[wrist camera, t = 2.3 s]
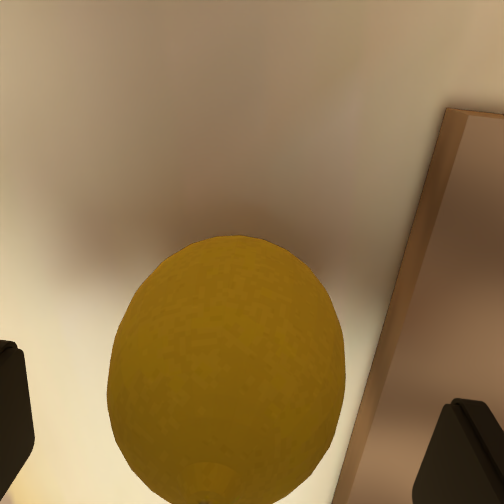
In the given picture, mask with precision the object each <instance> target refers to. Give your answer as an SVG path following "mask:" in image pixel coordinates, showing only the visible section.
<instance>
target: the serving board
mask: <svg viewBox="0 0 504 504" xmlns="http://www.w3.org/2000/svg"><path fill="white" fill-rule="evenodd" d="M454 398H462V399H470V400H478V401H483V402H485V403H486V404H487V406H488V407H489V409H490V410H491V412H492V413H493V415H494V417H495V418H496V420H497V422H498V423H499V425H500V426H501V428H502V430H503V431H504V115H502V114H494V113H485V112H477V111H469V110H460V109H452V108H446V112H445V115H444V119H443V122H442V126H441V129H440V133H439V136H438V139H437V143H436V146H435V150H434V153H433V157H432V160H431V164H430V167H429V170H428V174H427V177H426V181H425V184H424V188H423V191H422V195H421V198H420V201H419V205H418V208H417V212H416V215H415V219H414V222H413V226H412V229H411V232H410V236H409V239H408V243H407V246H406V250H405V253H404V257H403V260H402V263H401V267H400V270H399V274H398V277H397V281H396V284H395V288H394V291H393V294H392V298H391V301H390V305H389V308H388V312H387V315H386V319H385V322H384V325H383V329H382V332H381V336H380V339H379V343H378V346H377V350H376V353H375V356H374V360H373V363H372V367H371V370H370V374H369V377H368V381H367V384H366V387H365V391H364V394H363V398H362V401H361V405H360V408H359V412H358V415H357V418H356V422H355V425H354V429H353V432H352V436H351V439H350V443H349V446H348V449H347V453H346V456H345V460H344V463H343V467H342V470H341V474H340V477H339V480H338V484H337V487H336V491H335V494H334V498H333V501H332V504H413V502H412V488H413V484H414V482H415V479H416V476H417V474H418V471H419V469H420V466H421V463H422V461H423V458H424V455H425V453H426V450H427V447H428V445H429V442H430V440H431V437H432V434H433V432H434V429H435V426H436V424H437V421H438V418H439V416H440V413H441V411H442V408H443V406H444V405H445V404H450V403H451V402H452V400H453V399H454Z"/></svg>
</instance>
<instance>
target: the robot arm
mask: <svg viewBox="0 0 504 504" xmlns="http://www.w3.org/2000/svg"><path fill="white" fill-rule="evenodd" d="M34 441H35V435H34V427H33V420H32V412H31V404H30V397H29V389H28V381H27V374H26V366H25V358H24V353H23V351H22V350H21V349H18V348H17V345H16V343H15V342H12V341H6V340H0V501H1V499H2V498H3V496H4V495H5V493H6V492H7V490H8V488H9V487H10V485H11V484H12V482H13V481H14V479H15V478H16V476H17V474H18V473H19V471H20V470H21V468H22V467H23V465H24V464H25V462H26V460H27V459H28V457H29V456H30V454H31V452H32V449H33V446H34ZM412 502H413V504H504V431H503V430H502V428H501V426H500V425H499V423H498V422H497V420H496V418H495V417H494V415H493V413H492V412H491V410H490V409H489V407H488V406H487V404H486V403H485V402H483V401H478V400H470V399H462V398H454V399H453V400H452V402H451V403H450V404H445V405H444V406H443V408H442V411H441V413H440V416H439V418H438V421H437V424H436V426H435V429H434V432H433V434H432V437H431V440H430V442H429V445H428V447H427V450H426V453H425V455H424V458H423V461H422V463H421V466H420V469H419V471H418V474H417V476H416V479H415V482H414V484H413V488H412Z"/></svg>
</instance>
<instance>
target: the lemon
mask: <svg viewBox="0 0 504 504" xmlns="http://www.w3.org/2000/svg"><path fill="white" fill-rule="evenodd" d="M345 379H346V373H345V354H344V341H343V334H342V330H341V326H340V323H339V320H338V318H337V315H336V312H335V310H334V307H333V304H332V302H331V299H330V297H329V295H328V293H327V291H326V290H325V288H324V287H323V285H322V284H321V283H320V281H319V280H318V279H317V278H316V276H315V275H314V274H313V272H312V271H311V270H310V268H309V267H308V266H307V265H306V264H304V263H303V262H302V261H301V260H299V259H298V258H297V257H295V256H294V255H293V254H292V253H290V252H289V251H288V250H286V249H284V248H282V247H279V246H277V245H275V244H273V243H270V242H268V241H266V240H264V239H258V238H253V237H248V236H242V235H235V236H217V237H213V238H209V239H206V240H203V241H199V242H196V243H192V244H190V245H189V246H187V247H185V248H184V249H182V250H180V251H179V252H177V253H175V254H174V255H172V256H170V257H169V258H167V259H166V260H164V261H163V262H162V263H161V264H160V265H159V266H158V267H157V268H156V269H155V270H154V272H153V273H152V274H151V275H150V276H149V277H148V278H147V279H146V280H145V281H144V282H143V284H142V285H141V286H140V287H139V288H138V290H137V291H136V293H135V294H134V296H133V298H132V300H131V302H130V305H129V307H128V309H127V311H126V313H125V315H124V317H123V319H122V321H121V323H120V325H119V328H118V330H117V333H116V336H115V340H114V344H113V348H112V354H111V360H110V368H109V376H108V384H107V406H108V412H109V417H110V422H111V426H112V431H113V434H114V437H115V441H116V443H117V445H118V447H119V448H120V450H121V452H122V454H123V456H124V458H125V459H126V461H127V463H128V465H129V466H130V468H131V470H132V471H133V472H134V473H135V474H136V475H137V476H138V477H139V478H140V479H141V480H142V481H143V482H144V483H145V484H146V485H147V487H148V488H149V489H150V490H151V491H153V492H154V493H156V494H157V495H159V496H160V497H162V498H163V499H164V500H166V501H168V502H169V503H171V504H273V503H275V502H277V501H278V500H280V499H282V498H284V497H286V496H287V495H288V494H290V493H291V492H292V491H293V490H294V489H296V488H297V487H298V486H299V485H300V484H301V483H303V482H304V481H305V480H306V479H307V478H308V477H309V476H310V475H311V474H312V472H313V471H314V469H315V468H316V466H317V465H318V464H319V462H320V461H321V459H322V458H323V456H324V455H325V453H326V451H327V450H328V448H329V447H330V445H331V442H332V439H333V437H334V434H335V431H336V427H337V423H338V420H339V416H340V412H341V408H342V404H343V399H344V392H345Z"/></svg>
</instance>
